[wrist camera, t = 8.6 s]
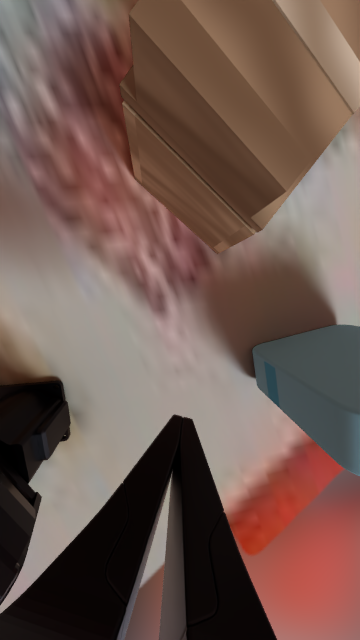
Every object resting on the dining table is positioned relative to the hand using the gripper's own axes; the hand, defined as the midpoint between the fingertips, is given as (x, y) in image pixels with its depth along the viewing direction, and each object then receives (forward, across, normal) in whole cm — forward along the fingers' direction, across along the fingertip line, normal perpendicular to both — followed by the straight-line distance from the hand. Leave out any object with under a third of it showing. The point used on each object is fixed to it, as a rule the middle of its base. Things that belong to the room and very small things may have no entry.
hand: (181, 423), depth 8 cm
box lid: (+8, -1, -17) cm, 18 cm away
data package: (+15, -12, +1) cm, 20 cm away
